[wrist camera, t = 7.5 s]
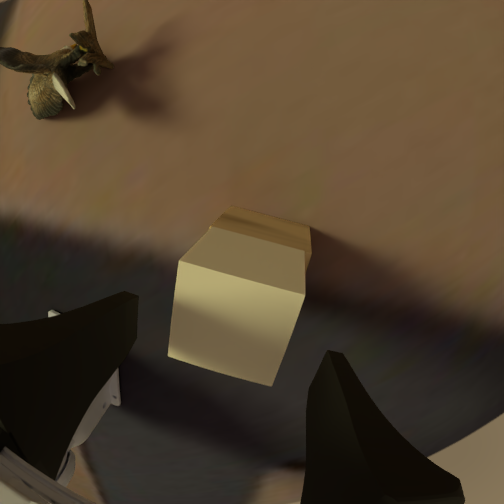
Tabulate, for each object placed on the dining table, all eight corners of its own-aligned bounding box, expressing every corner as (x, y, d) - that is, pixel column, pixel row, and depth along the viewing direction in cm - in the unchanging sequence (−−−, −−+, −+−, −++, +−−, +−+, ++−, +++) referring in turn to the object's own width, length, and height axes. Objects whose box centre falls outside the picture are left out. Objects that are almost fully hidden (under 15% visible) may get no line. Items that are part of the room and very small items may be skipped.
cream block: (279, 328, 16) (271, 386, 12) (198, 305, 17) (167, 356, 12) (304, 250, 15) (305, 295, 11) (212, 226, 15) (179, 260, 11)
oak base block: (288, 295, 21) (283, 337, 17) (216, 275, 22) (194, 312, 17) (309, 226, 19) (311, 253, 15) (231, 205, 20) (209, 226, 15)
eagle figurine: (111, -10, 14) (9, 32, 14) (63, 6, 10) (-49, 68, 9) (129, 82, 21) (34, 109, 20) (97, 130, 16) (-9, 160, 16)
